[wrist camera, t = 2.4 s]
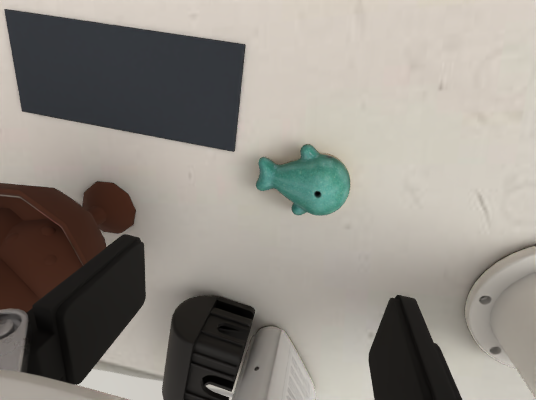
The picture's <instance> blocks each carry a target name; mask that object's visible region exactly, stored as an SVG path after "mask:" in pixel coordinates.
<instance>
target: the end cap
mask: <svg viewBox="0 0 536 400" xmlns="http://www.w3.org/2000/svg"><path fill="white" fill-rule="evenodd" d="M254 314H255V310H254V309H253V308H252V307H250V306H247V305H244V304H241V303H238V302H235V301H232V300H229V299H226V298H223V297H218V296H197V297H193V298H190V299H188V300H186V301H184V302H183V303H181V304H180V305H179V306H178V307H177V309H176V310H175V312H174V314H173V317H172V321H171V329H170V336H169V343H168V350H167V358H166V365H165V372H164V379H163V387H162V393H163V399H164V400H229V397H226V396H224V395H221V394H218V393H215V392H213V391H211V390H209V389H208V388H207V387H206V385H208V384H211V385H214V386H217V387H220V388H222V389H225V390H228V391H231V392H232V389H233V386H234V383H235V379H236V376H237V373H238V369H239V366H240V363H241V360H242V356H243V353H244V349H245V346H246V342H247V339H248V335H249V332H250V328H251V325H252V321H253V318H254Z"/></svg>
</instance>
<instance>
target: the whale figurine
mask: <svg viewBox="0 0 536 400" xmlns="http://www.w3.org/2000/svg"><path fill="white" fill-rule="evenodd" d="M300 152H301V158H300V159H297V160H294V161H290V162H287V163H285V164H281V165H278V164H275V163H274V162H273V161H271V160H270V159H268V158H266V157H262V158H260V159H259V162H258V163H259V169H260V175H259V178H258V181H257V183H256V187H257V189H258V190H260V191H265V190H269V189H273V188H275V189H277V190H278V191H279V192H280V193H282V194H283V195H284V196H285V197H287V198H288V199H289V200H291V201H292V202H294V203H293V205H292V212H293V213H294V214H296V215H302V214H304V213H306V212H308V213H311V214H313V215H327V214H330V213H333V212H335V211H336V210H338V209H339V208H340V207H341V206H342V205H343V204H344V202H345V201H346V199H347V197H348V194H349V190H350V177H349V173H348V170H347V168H346V167H345V165H344V164H343V163H342V162H341V161H340V160H339V159H338V158H336V157H335V156H333V155H330V154H320V153H319V152H318V151H317V150H316V149H315V148H314V147H313V146H312V145H310V144H306V145H304V146H303V147H302V148H301V151H300Z"/></svg>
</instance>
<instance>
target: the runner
mask: <svg viewBox="0 0 536 400" xmlns="http://www.w3.org/2000/svg"><path fill="white" fill-rule="evenodd" d="M4 10H5V16H6V21H7V27H8V33H9V39H10V44H11V50H12V56H13V62H14V67H15V73H16V79H17V85H18V90H19V96H20V102H21V108H22V111H24V112H29V113H34V114H39V115H44V116H50V117H55V118H60V119H65V120H71V121H76V122H81V123H86V124H92V125H97V126H102V127H107V128H112V129H118V130H123V131H128V132H133V133H139V134H144V135H149V136H154V137H159V138H165V139H170V140H175V141H180V142H186V143H191V144H196V145H201V146H207V147H212V148H217V149H222V150H227V151H233V152H234V151H235V142H236V132H237V122H238V112H239V102H240V93H241V83H242V73H243V63H244V53H245V44H239V43H232V42H225V41H218V40H212V39H205V38H198V37H191V36H184V35H177V34H171V33H164V32H157V31H150V30H143V29H137V28H130V27H123V26H116V25H109V24H103V23H96V22H89V21H82V20H75V19H69V18H62V17H55V16H48V15H41V14H34V13H28V12H21V11H14V10H7V9H4Z"/></svg>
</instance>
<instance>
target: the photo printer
mask: <svg viewBox="0 0 536 400" xmlns="http://www.w3.org/2000/svg"><path fill="white" fill-rule="evenodd" d="M232 400H316V392H315V387H314V384H313V382H312V380H311V378H310V376H309V374H308V372H307V370H306V368H305V366H304V364H303V362H302V360H301V358H300V356H299V355H298V353H297V351H296V349H295V347H294V345H293V344H292V342H291V340H290V339H289V337H288V335H287V334H286V333H285V331H284V330H283V329H279V328H278V327H273V326H269V327H264V328H261V329H260V330H259V331H258V332H257V333H256V335H253V337H252V339H251V341H250V344H249V347H248V350H247V353H246V356H245V360H244V363H243V366H242V369H241V372H240V375H239V379H238V382H237V385H236V388H235V391H234V394H233V397H232Z"/></svg>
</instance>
